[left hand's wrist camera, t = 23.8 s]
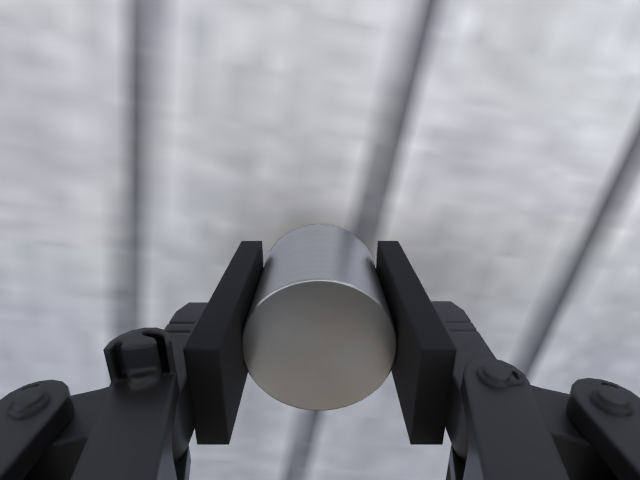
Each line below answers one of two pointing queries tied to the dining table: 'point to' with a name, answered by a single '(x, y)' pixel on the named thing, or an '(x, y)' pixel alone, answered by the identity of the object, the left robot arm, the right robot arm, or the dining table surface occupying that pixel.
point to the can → (319, 321)
